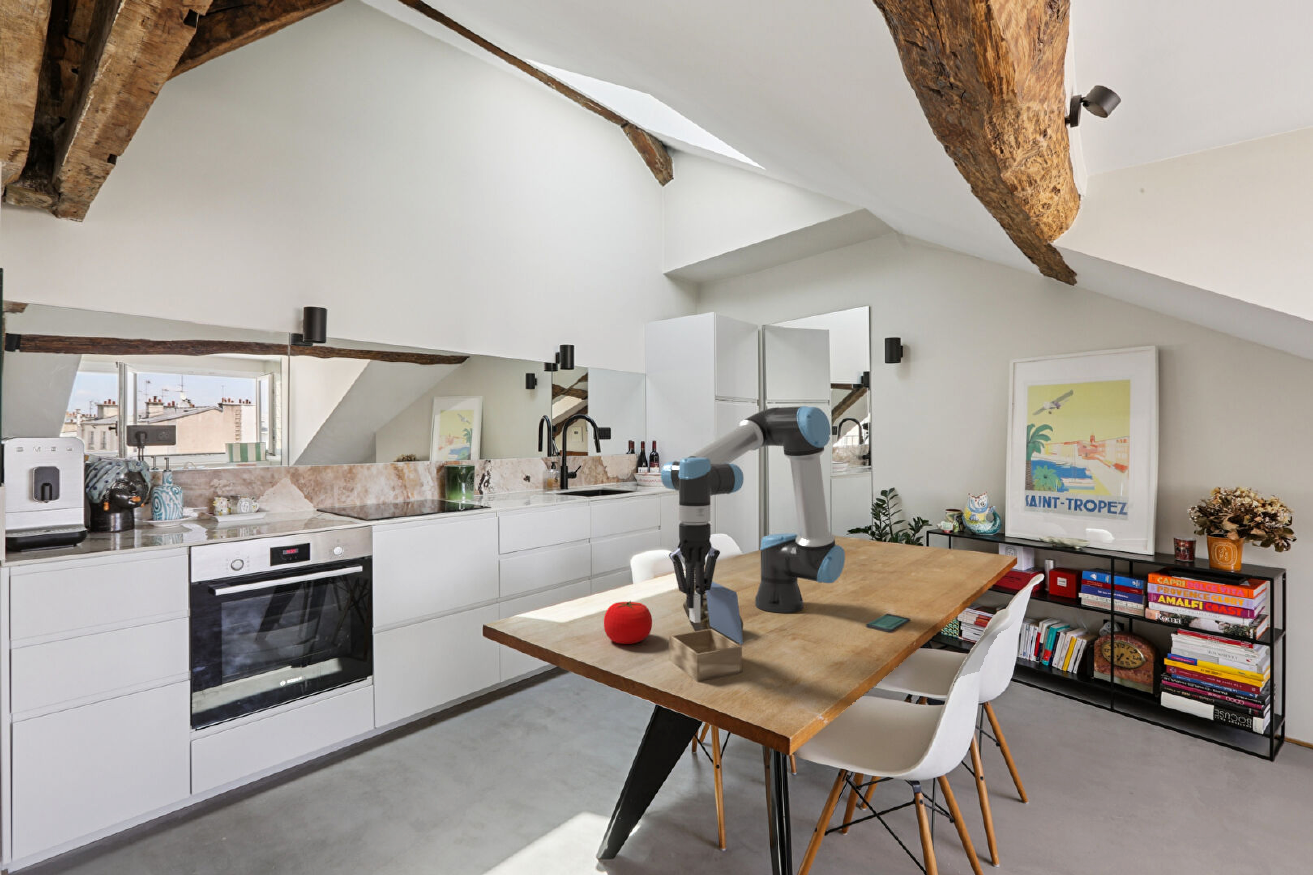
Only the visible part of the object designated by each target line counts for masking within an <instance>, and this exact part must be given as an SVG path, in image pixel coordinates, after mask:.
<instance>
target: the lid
mask: <svg viewBox="0 0 1313 875" xmlns="http://www.w3.org/2000/svg"><path fill="white" fill-rule="evenodd" d="M705 592H706V593H705V594H706V598H707V606H708V614H709V622H710V626H711V627H712V628H714V629H716V630H718V631H719V632H721V633H723V634H724V635H726V636H728V637H730V640H732V641H735V643H737V644H738V643H739V645H743V644H744V640H743V639H744V638H743V631H742V630H741V622H740V616H741V615H740V614H741V613H740V606H739V599H738V598H739V597H738V593H737V591H735V590H732V589H730V588H728V587H726V586H723V585H722V584H719V583H716V582H715V581H713V580H712V584H711V589H710V590H707V591H705Z"/></svg>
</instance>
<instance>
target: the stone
mask: <svg viewBox="0 0 1313 875" xmlns="http://www.w3.org/2000/svg"><path fill="white" fill-rule="evenodd" d="M686 603H687V602H686V599H685V600H684V601H683V604H682V606H683V607H682V608H683V609H684V612H685V615H686V617H687V618H688V620H689V608H688V607H687V605H686ZM740 622H741V630H742V632H743V631H744V622H743V619H742V617H741V615H740ZM689 623H690V625H691V627H692V629H693V630H694V632H695V631H701V630H707V629H713V630H714V631H716V632H718V633H719V634H721V635H723V636H725V637H726V638H728V639H730V640H731V638H730V637H728V636H726V635H724V634H723V633H721V632H719V631H718V630H716V629H714V628H712V627H711V626H710V622H709V614H708V606H707V598H706V593H705V595H703V607H700V622H698V623H694V622H692V621H691V620H689Z"/></svg>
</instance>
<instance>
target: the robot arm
mask: <svg viewBox="0 0 1313 875" xmlns="http://www.w3.org/2000/svg"><path fill="white" fill-rule="evenodd" d="M829 420H830V419H828V416H827V415H826V413H825V412H824V411H823V410H822V409H820V407H817V406H806V405H804V406H800V405H799V406H784V407H783V406H782V407H779V406H778V407H770V408H766V409H764V410H760V411H759V412H757V413H755V414H752V415H751V416H749V417H747V418H745V419H743V420H742V421H740V422H739V423H738V424H737V426H736V428H735V429H733V430H731V431H729V432H728V433H726V434H725V435H723V436H722V437H719V438H718V439H716V440H714V441H713V442H712V443H710V444H708V445H707V446H705V447H703V448H702V449H700V450H698V451H696V452H694V453H693V454H691V455H690V456H687V457H682V458H681V459H680V461H677V460H674V461H668V462H666V463H665V464H663V466H662V467H661V471H660V479H661V483H662V485H663V486H664V487H665V488H666V489H670V490H674V491H678V497H679V498H678V500H679V501H678V503H679V504H678V521H679V522H680V523H679V524H678V537H679V543H678V545H677V549H676V550H675V551H674V552H669V553H668V557H669V559H670V560H671V563H672V564H673V565H672V566H673V568H674V570H673V571H674V573H675V578H676V583H677V588H678V590H679V592H681V593H683V594H685V595H686V599H685V600H686V602H687V603H686V605H687V607H688V608H689V618H688V620H691V621H692V622H694V623H698V622H700V607H703V595H705V594H706V591H707V590H710V589H711V584H712V581H713V578H714V574H715V568H716V564H717V560H718V558H719V556H720V555H721V551H720V550H719V549H716V548H714V547H713V546H712V543H711V535H712V534H711V533H712V531H711V529H712V528H711V524H710V521H711V501H712V500H711V496H717V495H726V494H727V495H730V494H733V493H736V492H738V491H739V490H741V488H742V487H743V485H744V480H745V479H744V473H743V471H742V469H741V468H740V466H738V465H737V464H734V463H733V462H734V461H735V460H737V459H738V458H740V457H742V456H743V455H744V454H746V453H748V452H749V451H756V450H758V449H760V448H763V447H770V446H772V447H773V446H776V447H782V448H783V453H784V454H783V455H784V456H785V457H786V458H788V459H789V461H790V468H791V474H792V476H791V477H792V485H793V492H794V500H795V509H796V515H797V516H796V517H797V523H798V530H799V532H798V533H799V534H796V533H792V532H790V533H789V532H787V533H773V534H769V535H765V536H763V537H762V538H761V540H760V548H759V550H760V583H759V586H758V589H757V592H756V595H755V599H754V604H755V607H756V608H758V609H760V610H763V611H766V612H770V613H771V612H772V613H779V614H781V613H782V614H783V613H784V614H785V613H786V614H788V613H795V612H799V611H802V610H803V609H804V599H803V597H802V593H801V589H800V586H799V582H798V581H799V580H798V579H801V580H808V581H813V582H817V583H819V584H820V583H822V584H823V583H824V584H833V583H835V582H836V581H837V580H838V579H839V578H840V576H841V575H842V572H843V569H844V567H845V562H846V561H845V560H846V553H845V549H844V548H843V547H842V546H841V545H839V544H836V538H835V535H834V534H833V533H831V532H830V531H829V523H828V513H827V507H826V506H827V504H826V498H825V497H826V496H825V488H824V480H823V474H822V473H823V472H822V464H821V455H822V453H824V451H825V447H826V446H827V445H828V443H829V442H830V439H831V437H830V436H831V423H830V421H829ZM682 558H683V560H684V565H685V568H684V566H683V561H682ZM684 569H685V571H684Z"/></svg>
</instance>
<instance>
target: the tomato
mask: <svg viewBox="0 0 1313 875" xmlns="http://www.w3.org/2000/svg"><path fill="white" fill-rule="evenodd" d="M652 628H653V617H652V614H651V611H650V609H649V608H648V606H646V605H645V604H643V603H642V602H635V601H632V600H629V601H619V602H618V601H617V602H614V603H612V605H610V606H609V607H608V608H607V610H606V612H605V614H604V619H603V629H604V632H605V634H606V636H607V638H608V639H609V640H611V641H612V642H614V643H616V644H621V645H631V644H636V643H640V642H641V641H643V640H645V639H647V637H648V636H649V635H650V634H651V632H652Z"/></svg>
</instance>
